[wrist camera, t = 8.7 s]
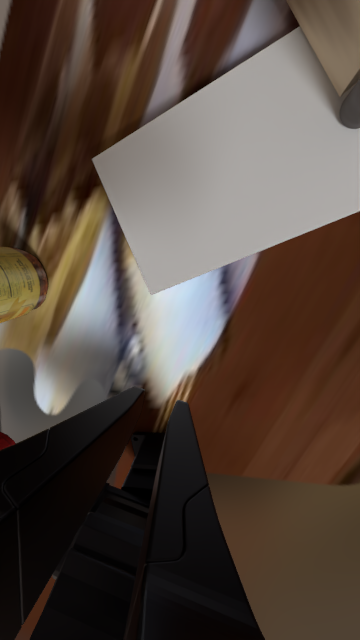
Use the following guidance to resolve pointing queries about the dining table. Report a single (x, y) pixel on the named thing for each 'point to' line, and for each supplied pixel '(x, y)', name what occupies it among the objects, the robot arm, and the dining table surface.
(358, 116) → the door
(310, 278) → the dining table surface
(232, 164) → the board
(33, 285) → the sauce bottle
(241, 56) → the dining table surface
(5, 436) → the plastic cup
